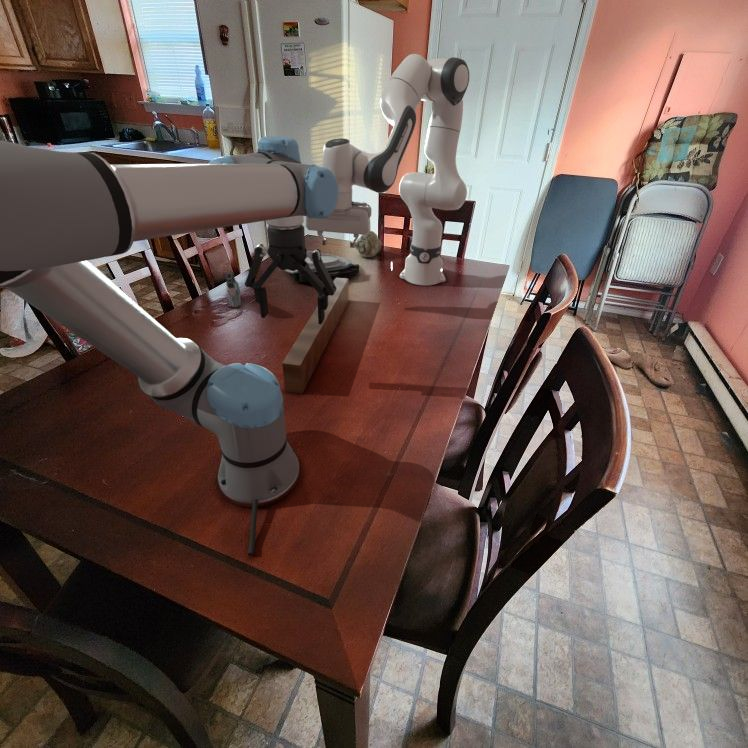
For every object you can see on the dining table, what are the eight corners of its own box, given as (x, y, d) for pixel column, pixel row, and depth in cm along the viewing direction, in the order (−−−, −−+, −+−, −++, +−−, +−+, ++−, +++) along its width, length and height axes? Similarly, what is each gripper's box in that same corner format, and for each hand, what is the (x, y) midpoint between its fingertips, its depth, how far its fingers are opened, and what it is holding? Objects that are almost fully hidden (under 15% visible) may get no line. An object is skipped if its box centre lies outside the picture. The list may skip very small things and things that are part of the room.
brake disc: (364, 281, 163) (364, 269, 160) (288, 287, 155) (286, 274, 152) (346, 255, 188) (345, 244, 185) (279, 259, 180) (278, 248, 178)
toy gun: (226, 303, 129) (222, 271, 128) (232, 311, 147) (228, 283, 147) (238, 302, 130) (234, 270, 129) (242, 310, 148) (239, 282, 148)
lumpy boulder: (388, 256, 193) (376, 254, 180) (367, 261, 198) (353, 259, 184) (384, 231, 192) (371, 227, 178) (363, 237, 196) (349, 233, 183)
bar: (302, 393, 103) (300, 365, 98) (285, 391, 103) (282, 363, 99) (348, 301, 148) (348, 278, 144) (336, 299, 149) (336, 277, 144)
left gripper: (349, 224, 85) (349, 316, 98) (234, 215, 88) (248, 305, 100) (341, 235, 79) (342, 331, 91) (218, 224, 82) (235, 319, 94)
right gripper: (373, 200, 126) (371, 245, 134) (308, 195, 128) (310, 240, 136) (370, 205, 121) (368, 251, 129) (302, 200, 123) (305, 246, 131)
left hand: (293, 318), depth 96 cm, fingers open, 13 cm apart
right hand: (338, 246), depth 133 cm, fingers open, 8 cm apart
